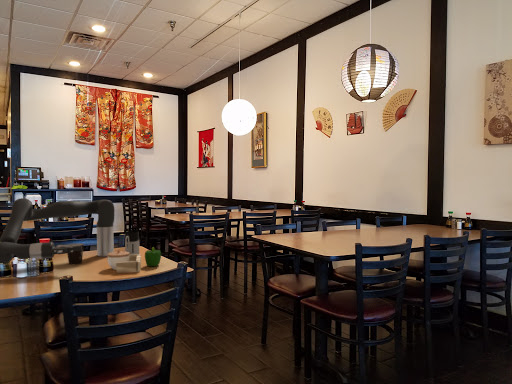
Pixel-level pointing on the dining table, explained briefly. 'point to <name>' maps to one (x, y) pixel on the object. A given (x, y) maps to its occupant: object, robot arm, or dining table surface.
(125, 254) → the lidded jar
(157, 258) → the bell pepper
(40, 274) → the dining table surface
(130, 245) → the electric kettle
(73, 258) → the coffee mug
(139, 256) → the cedar bay
